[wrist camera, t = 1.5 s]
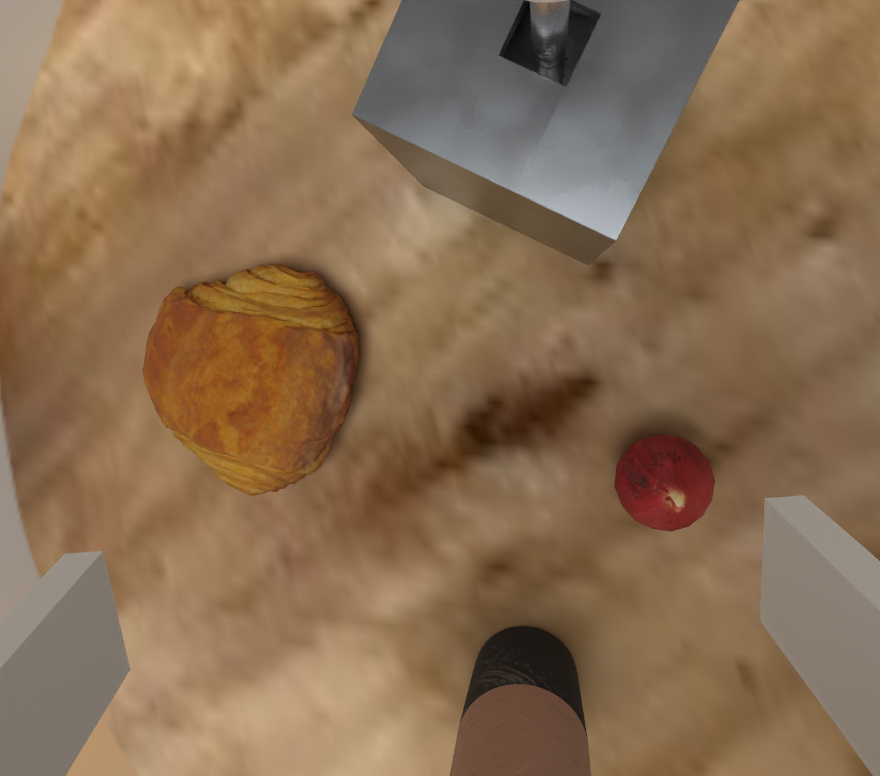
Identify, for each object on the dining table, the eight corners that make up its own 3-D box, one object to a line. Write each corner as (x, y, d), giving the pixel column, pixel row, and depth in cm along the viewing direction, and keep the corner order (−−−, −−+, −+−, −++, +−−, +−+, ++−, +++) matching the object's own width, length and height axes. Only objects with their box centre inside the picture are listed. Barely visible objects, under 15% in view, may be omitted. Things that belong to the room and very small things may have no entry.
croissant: (399, 312, 53) (385, 298, 45) (313, 514, 53) (284, 535, 45) (216, 234, 54) (169, 206, 46) (132, 433, 54) (71, 440, 46)
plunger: (669, 45, 37) (825, -272, 16) (586, 211, 38) (635, 106, 18) (508, -28, 37) (467, -420, 17) (432, 138, 39) (311, -43, 19)
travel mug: (463, 713, 53) (417, 953, 34) (479, 612, 52) (440, 797, 33) (571, 736, 52) (588, 995, 33) (589, 633, 51) (617, 836, 32)
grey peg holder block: (677, 89, 47) (766, -53, 28) (588, 265, 49) (616, 240, 30) (504, 11, 48) (480, -179, 29) (424, 186, 50) (351, 114, 31)
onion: (594, 485, 50) (603, 518, 42) (636, 410, 49) (654, 430, 41) (672, 526, 50) (697, 568, 42) (717, 451, 49) (750, 480, 41)
